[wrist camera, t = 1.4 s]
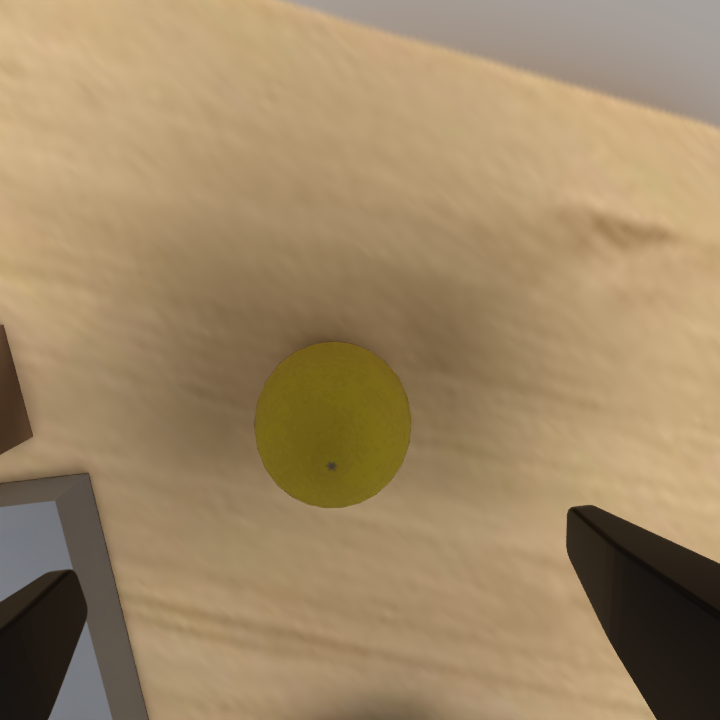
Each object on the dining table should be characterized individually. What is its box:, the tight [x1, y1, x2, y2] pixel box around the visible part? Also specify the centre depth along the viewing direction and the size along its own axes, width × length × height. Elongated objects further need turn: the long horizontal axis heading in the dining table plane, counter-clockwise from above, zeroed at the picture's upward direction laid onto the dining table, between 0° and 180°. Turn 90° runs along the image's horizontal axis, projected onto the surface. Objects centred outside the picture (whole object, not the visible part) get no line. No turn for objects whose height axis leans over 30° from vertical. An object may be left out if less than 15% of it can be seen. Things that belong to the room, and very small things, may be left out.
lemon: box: [254, 341, 411, 508], centre depth 17 cm, size 6×6×8 cm
